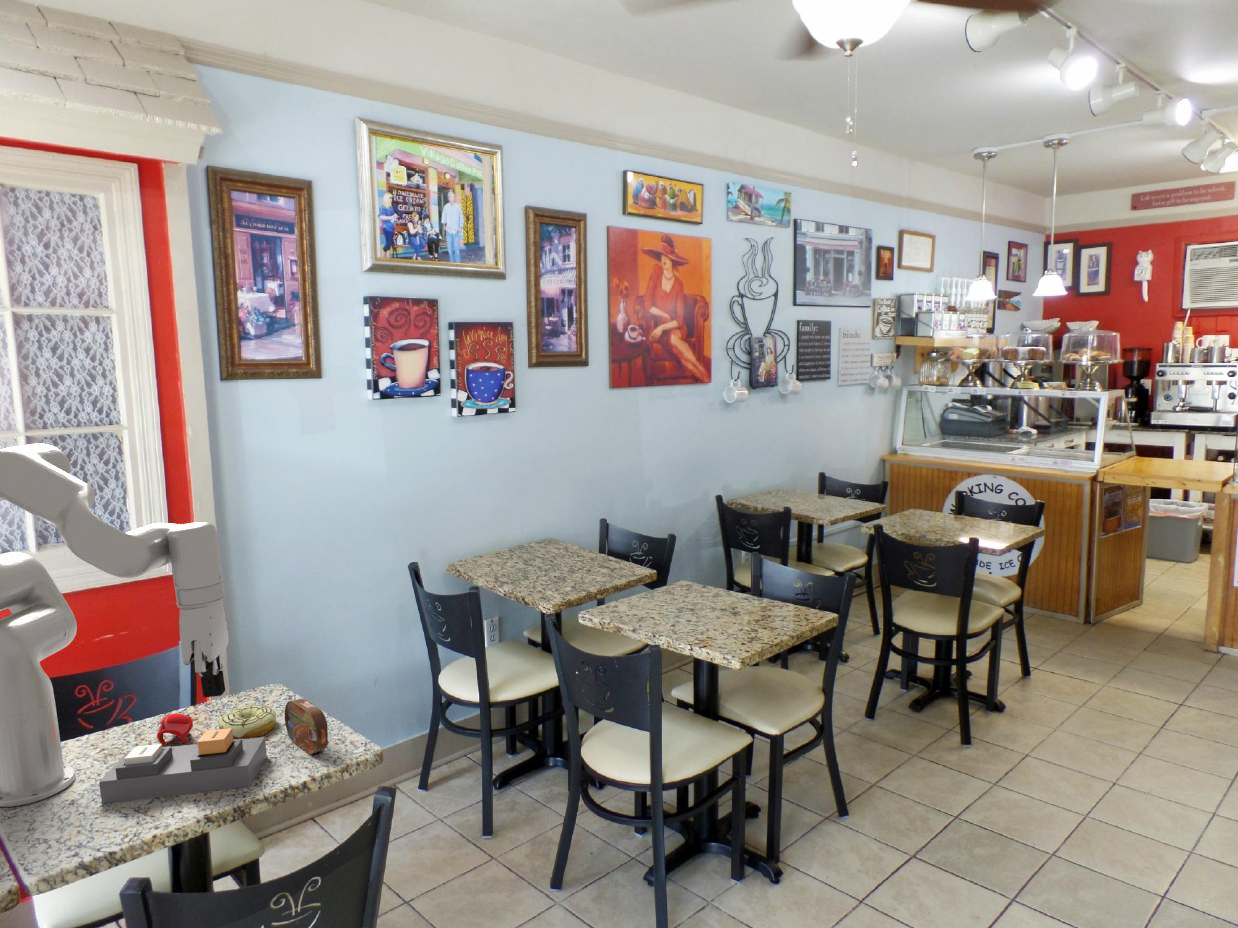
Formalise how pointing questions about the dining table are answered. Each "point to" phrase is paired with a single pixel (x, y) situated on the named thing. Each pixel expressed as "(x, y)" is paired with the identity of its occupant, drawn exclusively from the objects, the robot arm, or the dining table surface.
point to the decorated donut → (249, 721)
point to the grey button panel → (185, 772)
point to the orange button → (215, 741)
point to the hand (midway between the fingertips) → (214, 694)
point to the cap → (175, 727)
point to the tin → (306, 725)
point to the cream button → (143, 754)
